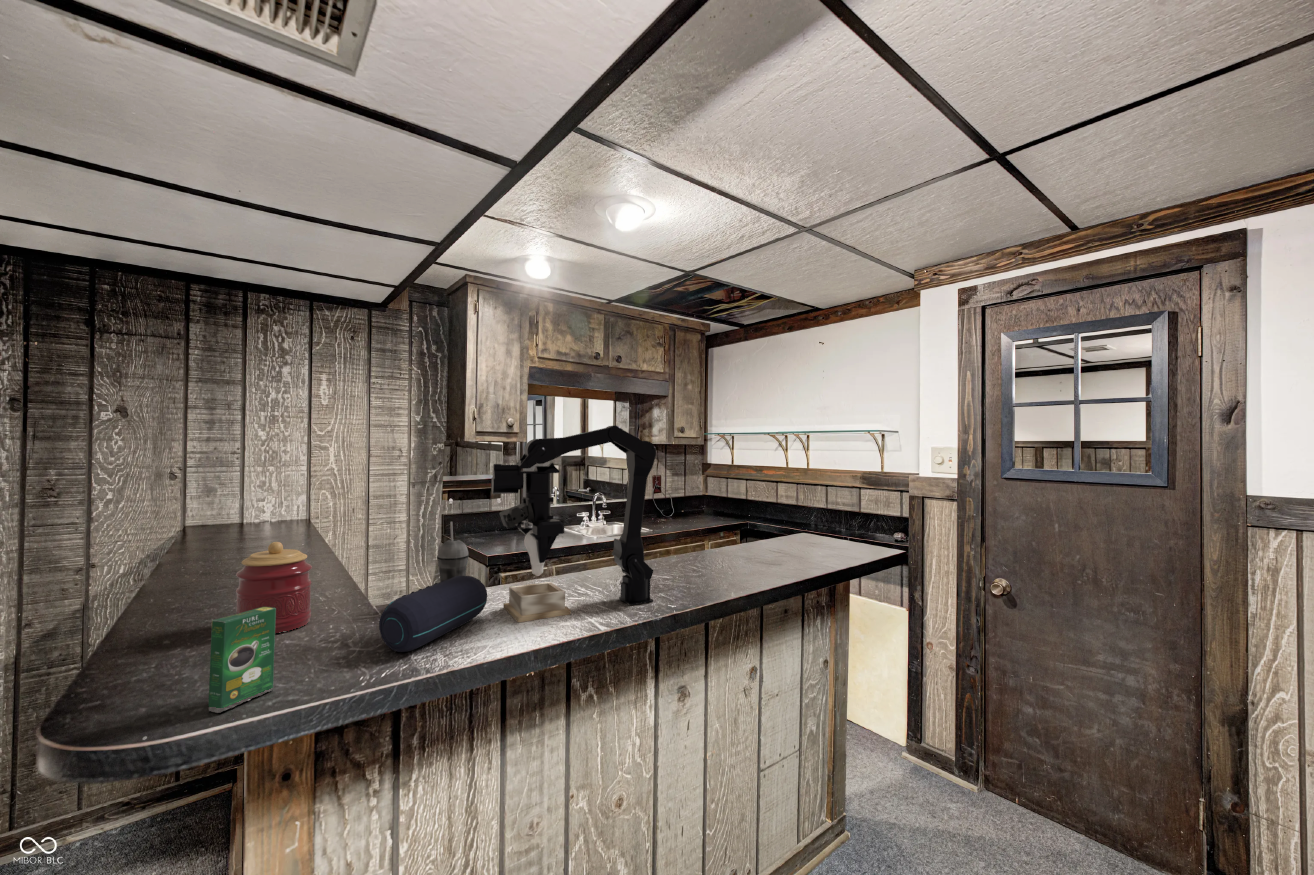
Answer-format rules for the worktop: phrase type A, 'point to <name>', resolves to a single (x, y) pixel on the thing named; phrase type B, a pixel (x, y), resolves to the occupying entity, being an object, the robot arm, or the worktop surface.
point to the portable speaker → (431, 612)
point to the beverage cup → (452, 558)
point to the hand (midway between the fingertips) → (537, 560)
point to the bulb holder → (536, 602)
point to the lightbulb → (533, 554)
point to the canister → (276, 585)
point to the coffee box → (241, 656)
